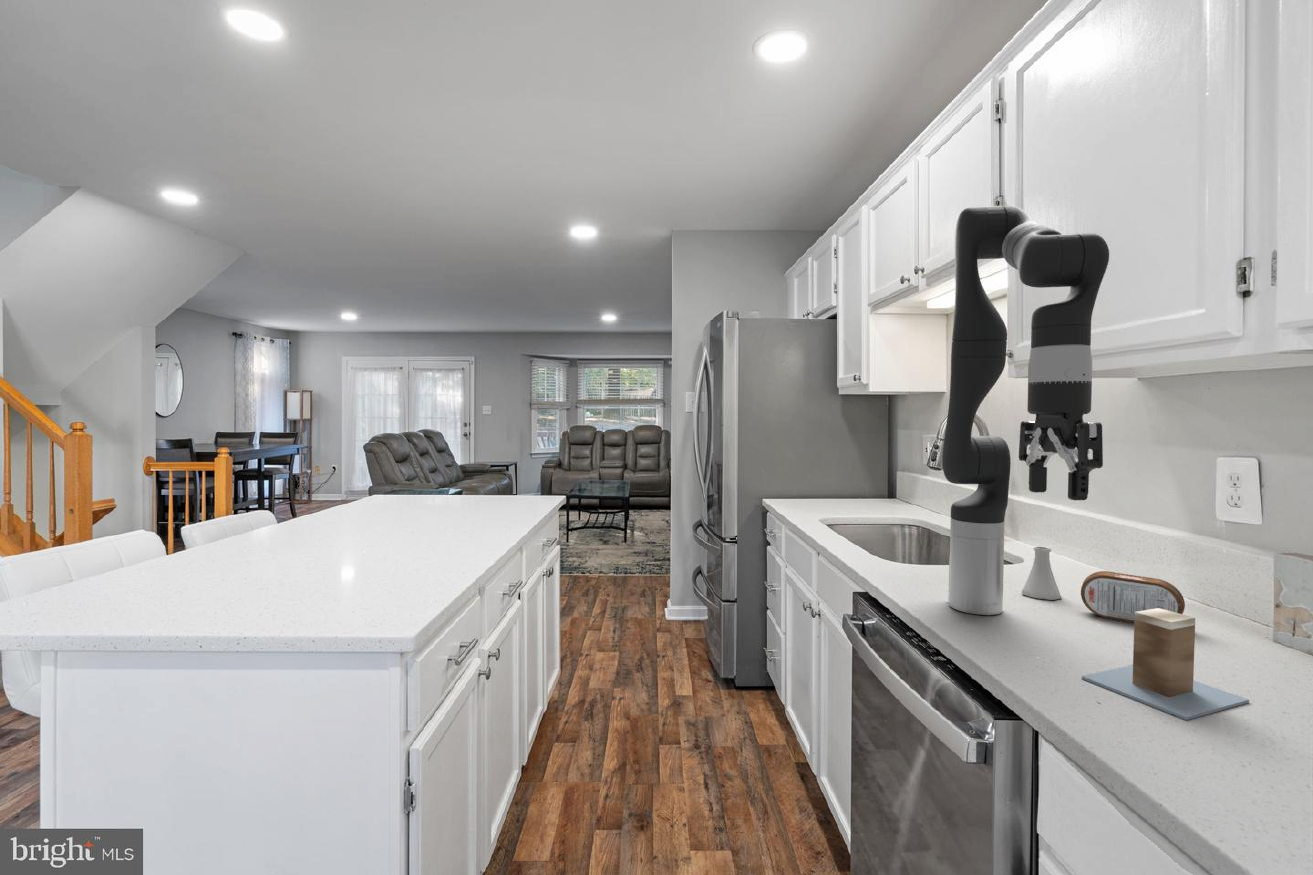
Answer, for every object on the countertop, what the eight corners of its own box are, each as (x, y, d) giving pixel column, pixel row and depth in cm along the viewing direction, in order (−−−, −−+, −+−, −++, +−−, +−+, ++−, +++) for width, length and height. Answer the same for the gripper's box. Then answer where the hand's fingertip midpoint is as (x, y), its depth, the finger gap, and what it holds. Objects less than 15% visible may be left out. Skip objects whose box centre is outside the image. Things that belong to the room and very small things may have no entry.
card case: (1132, 683, 87) (1134, 612, 87) (1156, 678, 89) (1158, 607, 88) (1168, 697, 83) (1171, 622, 82) (1192, 691, 85) (1195, 617, 84)
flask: (1066, 595, 130) (1067, 547, 130) (1056, 603, 125) (1057, 553, 125) (1027, 588, 135) (1028, 542, 135) (1016, 595, 130) (1017, 547, 130)
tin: (1184, 628, 110) (1185, 581, 110) (1183, 633, 108) (1184, 584, 108) (1081, 610, 120) (1082, 567, 120) (1078, 614, 118) (1079, 570, 118)
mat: (1081, 678, 90) (1081, 675, 90) (1141, 665, 94) (1141, 662, 94) (1186, 720, 77) (1186, 716, 77) (1249, 702, 82) (1249, 699, 82)
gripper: (1124, 377, 81) (1121, 503, 81) (1052, 382, 95) (1050, 489, 96) (1067, 377, 81) (1063, 503, 81) (1003, 382, 95) (1001, 489, 96)
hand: (1056, 495), depth 89 cm, fingers open, 8 cm apart
